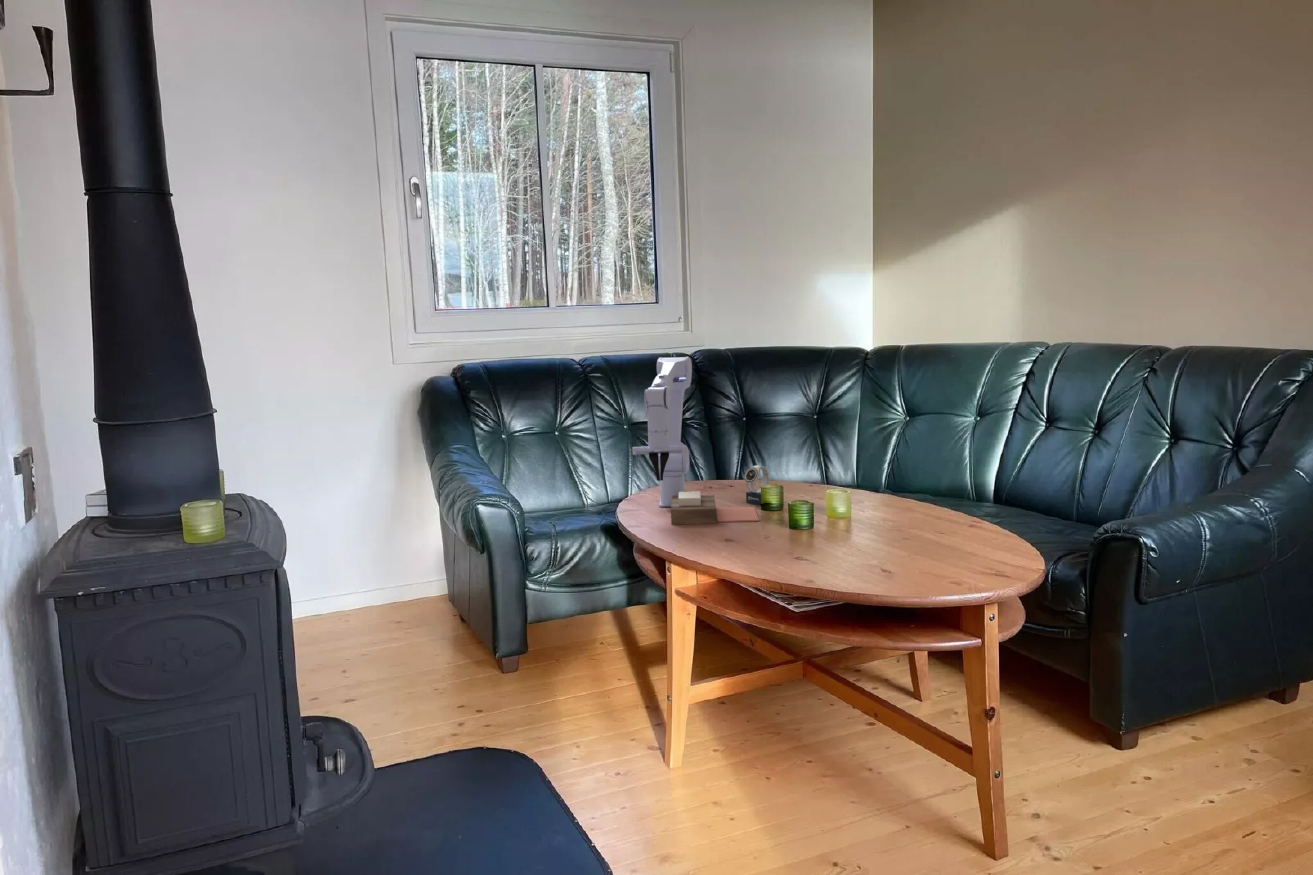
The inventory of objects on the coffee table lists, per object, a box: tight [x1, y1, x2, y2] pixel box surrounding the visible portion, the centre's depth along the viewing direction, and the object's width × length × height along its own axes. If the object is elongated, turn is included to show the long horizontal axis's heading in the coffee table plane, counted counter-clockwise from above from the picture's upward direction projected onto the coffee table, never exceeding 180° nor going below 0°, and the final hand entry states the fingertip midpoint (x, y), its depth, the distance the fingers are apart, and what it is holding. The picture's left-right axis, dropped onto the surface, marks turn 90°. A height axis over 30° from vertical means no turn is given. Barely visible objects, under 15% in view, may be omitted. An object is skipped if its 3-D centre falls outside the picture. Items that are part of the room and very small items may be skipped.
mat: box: [716, 506, 760, 523], centre depth 232 cm, size 16×11×1 cm
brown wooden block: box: [670, 494, 717, 525], centre depth 233 cm, size 18×12×4 cm, turn 178°
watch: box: [743, 464, 770, 506], centre depth 246 cm, size 6×8×11 cm
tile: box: [678, 490, 701, 506], centre depth 232 cm, size 9×6×2 cm, turn 178°
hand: (659, 479), depth 232 cm, fingers closed
